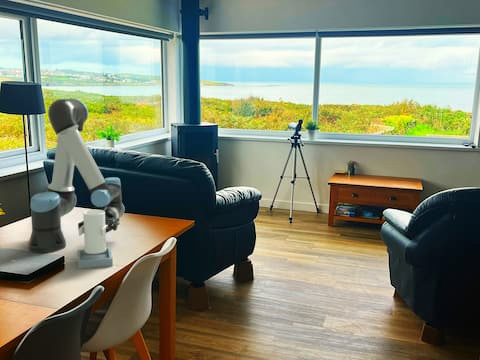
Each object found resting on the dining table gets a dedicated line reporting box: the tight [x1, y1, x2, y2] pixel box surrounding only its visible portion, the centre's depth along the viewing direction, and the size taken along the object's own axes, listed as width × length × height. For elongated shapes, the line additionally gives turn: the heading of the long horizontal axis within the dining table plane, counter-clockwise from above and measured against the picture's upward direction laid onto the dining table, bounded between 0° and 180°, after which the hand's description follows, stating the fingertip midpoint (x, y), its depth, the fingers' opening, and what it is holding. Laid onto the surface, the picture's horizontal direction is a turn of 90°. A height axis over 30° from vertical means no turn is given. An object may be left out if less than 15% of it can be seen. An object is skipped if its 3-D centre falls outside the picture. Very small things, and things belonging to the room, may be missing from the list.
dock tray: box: [77, 247, 114, 269], centre depth 188 cm, size 13×13×3 cm
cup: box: [83, 209, 107, 254], centre depth 186 cm, size 8×8×16 cm
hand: (90, 232), depth 181 cm, fingers closed on cup, 8 cm apart
